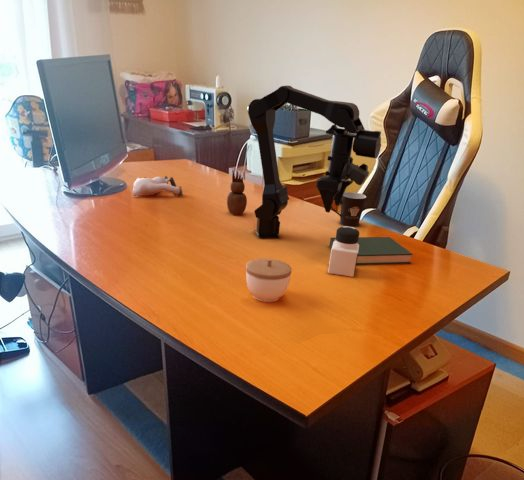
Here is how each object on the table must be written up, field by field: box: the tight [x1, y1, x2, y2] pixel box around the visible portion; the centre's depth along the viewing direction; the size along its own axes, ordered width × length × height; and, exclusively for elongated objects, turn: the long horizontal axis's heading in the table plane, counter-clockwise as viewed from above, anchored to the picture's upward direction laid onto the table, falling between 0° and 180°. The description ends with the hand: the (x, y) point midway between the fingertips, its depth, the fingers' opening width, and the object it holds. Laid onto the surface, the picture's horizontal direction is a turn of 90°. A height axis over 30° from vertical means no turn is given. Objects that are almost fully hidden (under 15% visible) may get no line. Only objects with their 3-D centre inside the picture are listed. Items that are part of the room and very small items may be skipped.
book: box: [328, 236, 413, 266], centre depth 156 cm, size 20×15×3 cm
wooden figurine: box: [226, 169, 248, 216], centre depth 179 cm, size 7×6×15 cm
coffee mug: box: [331, 191, 367, 228], centre depth 181 cm, size 12×9×10 cm
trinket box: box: [245, 258, 293, 303], centre depth 123 cm, size 11×11×9 cm
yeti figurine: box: [132, 175, 183, 197], centre depth 197 cm, size 20×7×20 cm
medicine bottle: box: [327, 225, 360, 278], centre depth 140 cm, size 7×7×12 cm
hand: (332, 208), depth 152 cm, fingers open, 9 cm apart
